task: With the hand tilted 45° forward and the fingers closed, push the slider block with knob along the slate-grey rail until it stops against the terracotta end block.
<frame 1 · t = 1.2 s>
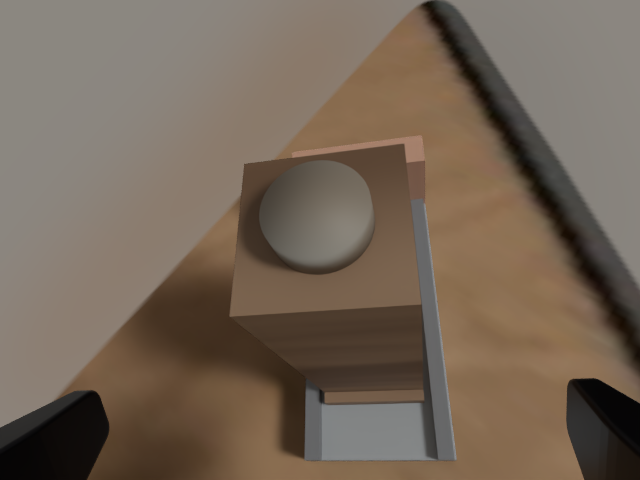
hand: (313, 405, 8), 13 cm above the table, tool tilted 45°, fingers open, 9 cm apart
rail: (373, 312, 22), on the table
slider block with knob: (353, 301, 15), point 7 cm above the table, slide at 0.0 cm
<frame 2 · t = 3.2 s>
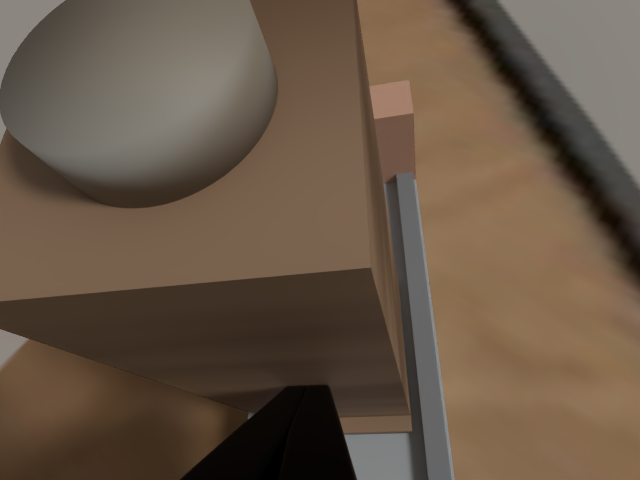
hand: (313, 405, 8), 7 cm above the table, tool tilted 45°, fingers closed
rail: (346, 326, 16), on the table
slider block with knob: (294, 286, 9), point 7 cm above the table, slide at 0.7 cm
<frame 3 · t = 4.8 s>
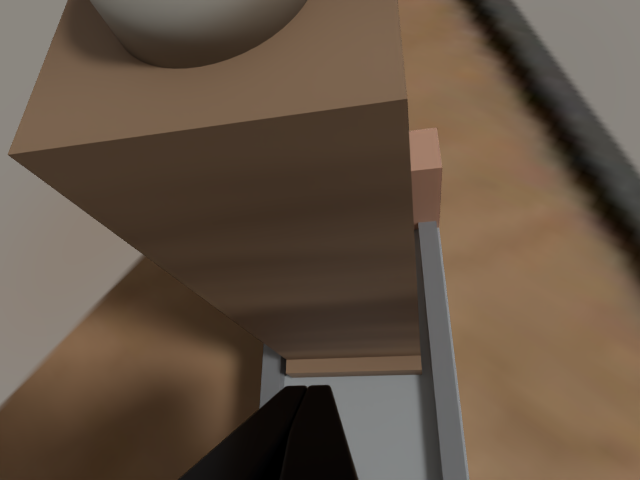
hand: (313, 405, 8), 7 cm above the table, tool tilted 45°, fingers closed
rail: (361, 388, 15), on the table
slider block with knob: (314, 213, 10), point 7 cm above the table, slide at 4.6 cm
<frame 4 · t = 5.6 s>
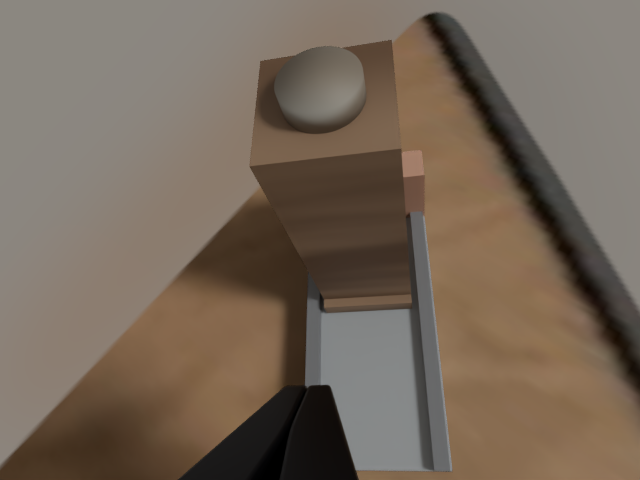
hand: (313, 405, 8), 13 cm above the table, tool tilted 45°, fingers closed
rail: (371, 322, 22), on the table
slider block with knob: (350, 199, 17), point 7 cm above the table, slide at 4.6 cm
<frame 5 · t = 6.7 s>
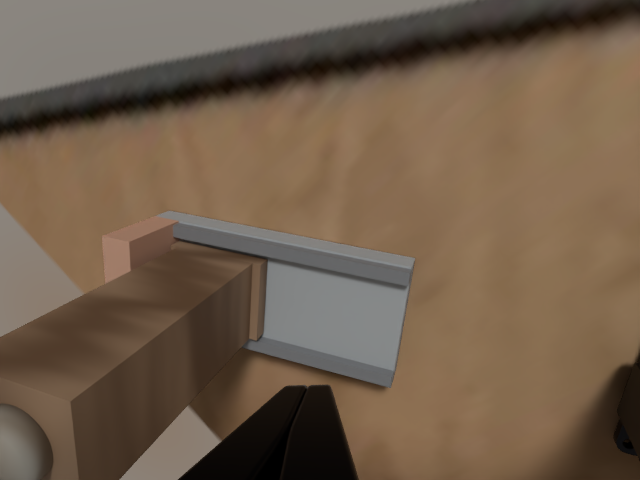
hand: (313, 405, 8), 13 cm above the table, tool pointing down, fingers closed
rail: (279, 287, 23), on the table
slider block with knob: (142, 346, 17), point 7 cm above the table, slide at 4.6 cm
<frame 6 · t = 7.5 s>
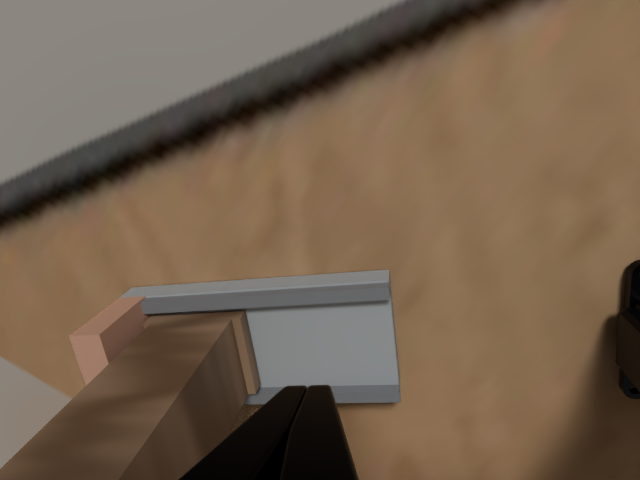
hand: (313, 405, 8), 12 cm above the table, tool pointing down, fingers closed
rail: (264, 333, 23), on the table
slider block with knob: (141, 440, 16), point 7 cm above the table, slide at 4.6 cm
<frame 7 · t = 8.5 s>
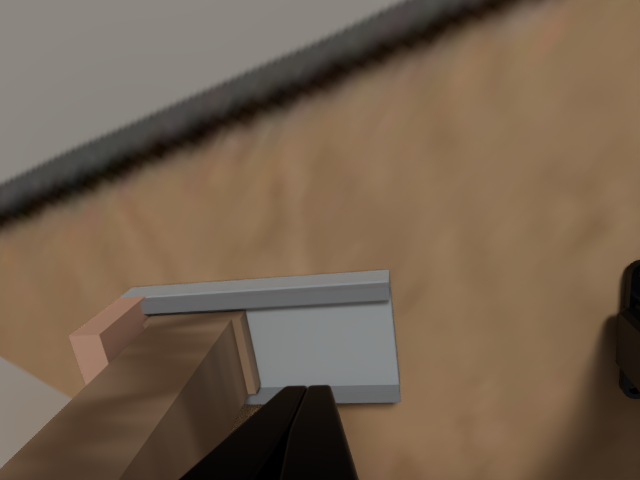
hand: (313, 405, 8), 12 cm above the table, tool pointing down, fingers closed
rail: (264, 333, 23), on the table
slider block with knob: (141, 440, 16), point 7 cm above the table, slide at 4.6 cm
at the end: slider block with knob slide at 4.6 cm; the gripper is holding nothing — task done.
